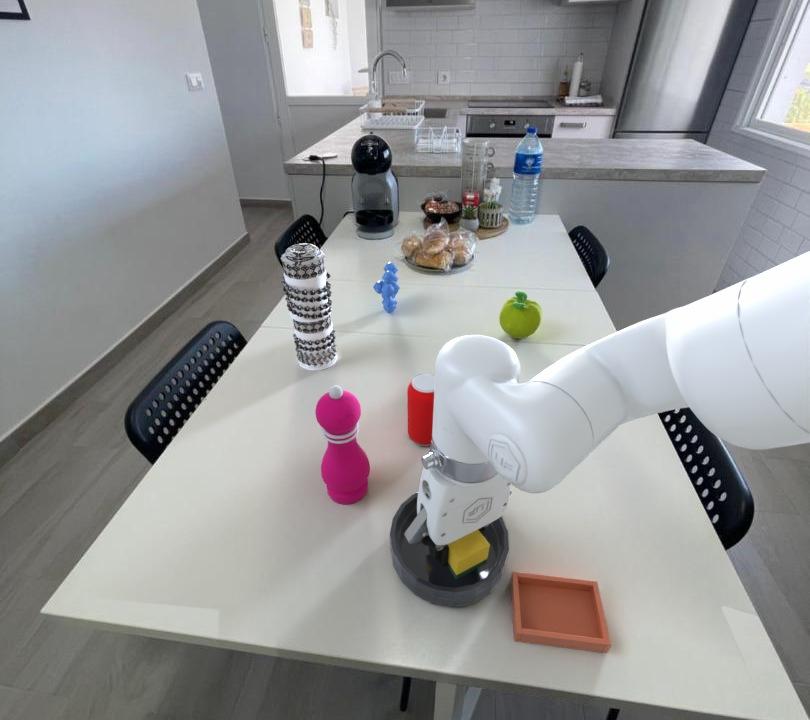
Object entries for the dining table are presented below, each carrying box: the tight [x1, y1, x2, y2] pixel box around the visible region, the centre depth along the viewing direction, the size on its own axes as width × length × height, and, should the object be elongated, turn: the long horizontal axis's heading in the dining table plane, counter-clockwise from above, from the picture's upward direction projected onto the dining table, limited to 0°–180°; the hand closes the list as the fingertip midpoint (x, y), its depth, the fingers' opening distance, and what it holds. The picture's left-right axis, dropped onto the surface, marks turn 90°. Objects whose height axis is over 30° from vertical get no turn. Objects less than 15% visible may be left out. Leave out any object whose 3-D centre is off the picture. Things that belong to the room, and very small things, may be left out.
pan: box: [389, 491, 510, 608], centre depth 59 cm, size 15×15×4 cm
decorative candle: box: [280, 242, 338, 372], centre depth 89 cm, size 9×9×25 cm
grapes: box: [372, 261, 401, 315], centre depth 111 cm, size 12×7×12 cm, turn 175°
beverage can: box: [406, 373, 435, 447], centre depth 74 cm, size 6×6×12 cm
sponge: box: [447, 530, 490, 579], centre depth 56 cm, size 7×4×4 cm, turn 28°
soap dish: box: [509, 571, 612, 654], centre depth 53 cm, size 10×7×2 cm
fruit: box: [498, 290, 543, 340], centre depth 101 cm, size 9×9×10 cm
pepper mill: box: [315, 384, 371, 505], centre depth 63 cm, size 7×7×20 cm
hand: (456, 546), depth 57 cm, fingers closed on sponge, 4 cm apart
